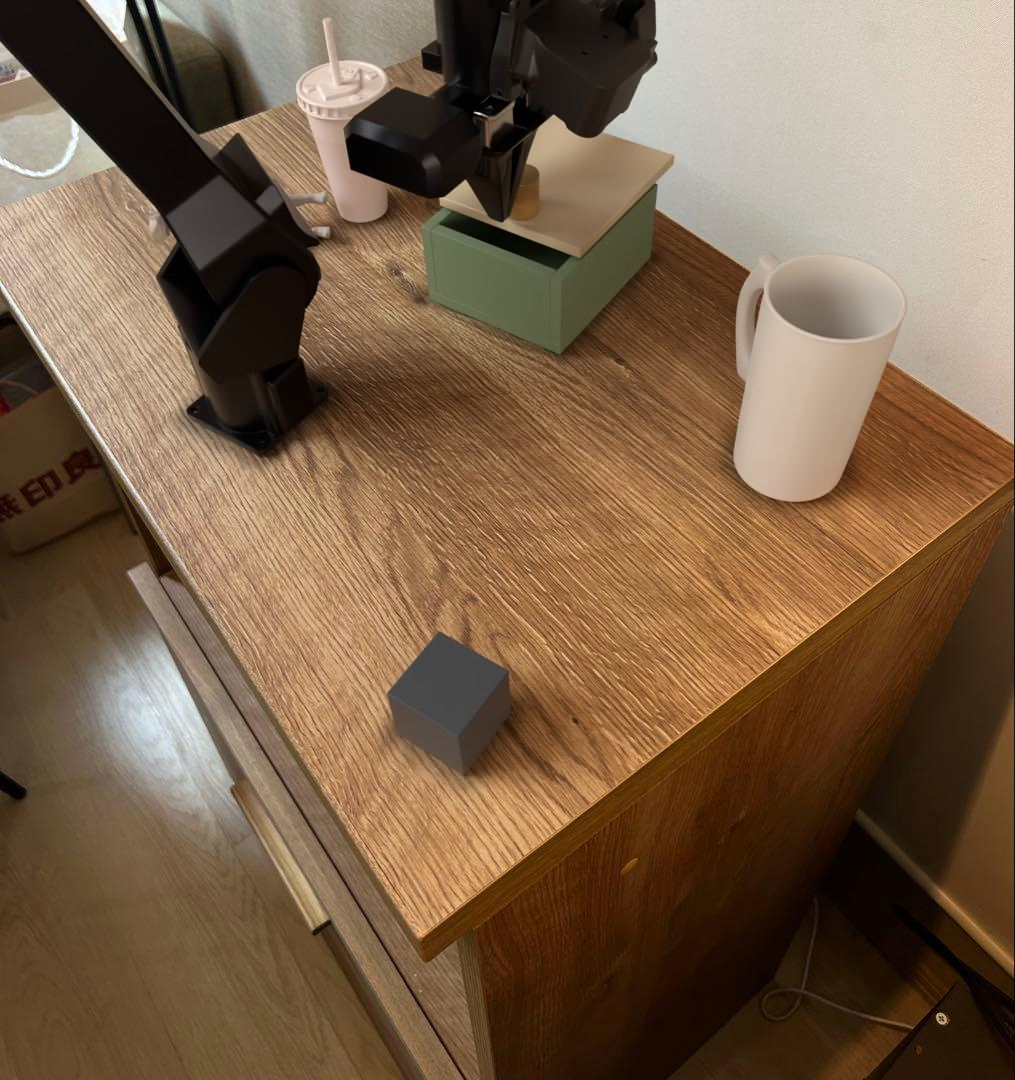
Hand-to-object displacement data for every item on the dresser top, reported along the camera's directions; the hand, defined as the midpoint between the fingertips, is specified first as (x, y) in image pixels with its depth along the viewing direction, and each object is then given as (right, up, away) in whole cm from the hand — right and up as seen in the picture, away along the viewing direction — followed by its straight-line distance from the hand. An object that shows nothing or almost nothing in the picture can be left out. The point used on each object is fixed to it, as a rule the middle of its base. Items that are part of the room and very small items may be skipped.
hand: (499, 218), depth 60 cm
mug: (+16, -14, -2) cm, 21 cm away
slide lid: (+4, +4, +5) cm, 7 cm away
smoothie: (-10, +5, +14) cm, 18 cm away
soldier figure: (-18, +2, +12) cm, 22 cm away
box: (+3, -1, +8) cm, 9 cm away
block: (-2, -28, -12) cm, 31 cm away
